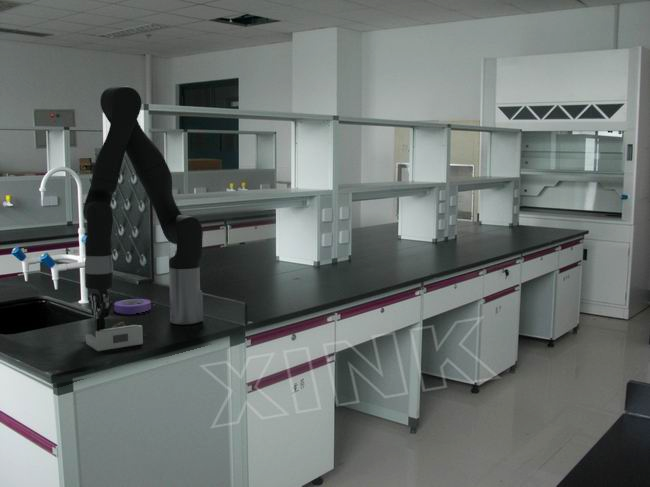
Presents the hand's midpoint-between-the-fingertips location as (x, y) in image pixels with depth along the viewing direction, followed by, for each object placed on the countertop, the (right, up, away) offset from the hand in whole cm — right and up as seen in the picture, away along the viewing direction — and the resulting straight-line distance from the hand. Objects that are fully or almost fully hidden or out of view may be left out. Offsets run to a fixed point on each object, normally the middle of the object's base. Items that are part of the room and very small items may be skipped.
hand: (100, 331), depth 192 cm
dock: (+6, -2, -7) cm, 10 cm away
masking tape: (0, +1, +32) cm, 32 cm away
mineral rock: (0, -1, -1) cm, 1 cm away
